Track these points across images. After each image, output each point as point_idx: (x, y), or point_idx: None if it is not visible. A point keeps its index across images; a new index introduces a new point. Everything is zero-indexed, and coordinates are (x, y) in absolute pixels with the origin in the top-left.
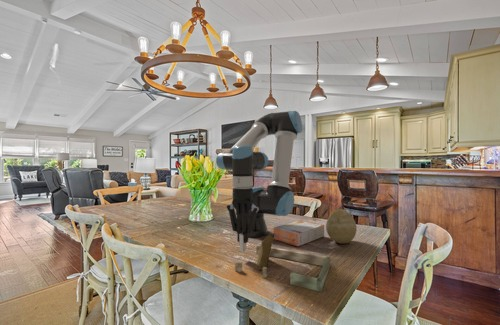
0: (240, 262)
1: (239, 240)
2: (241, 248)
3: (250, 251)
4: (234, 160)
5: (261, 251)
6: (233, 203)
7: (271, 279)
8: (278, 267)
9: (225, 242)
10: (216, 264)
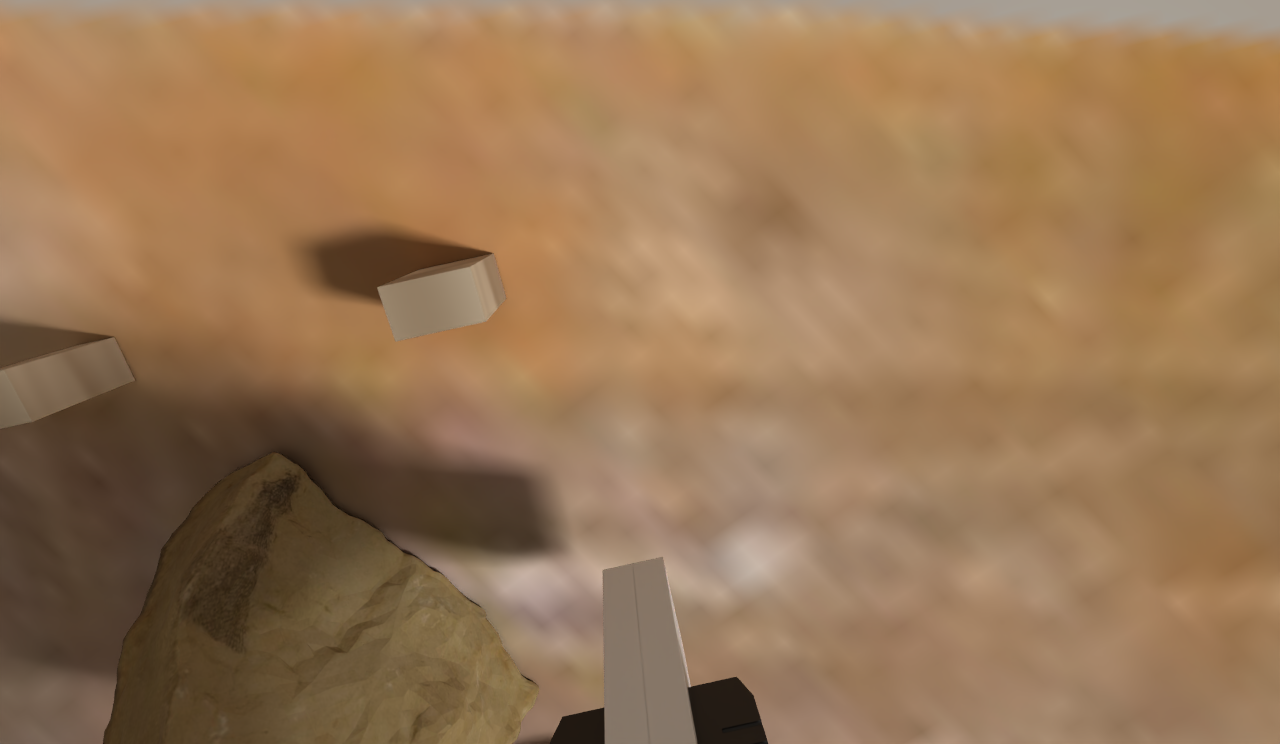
0: (397, 310)
1: (685, 695)
2: (629, 599)
3: None
4: None
5: (282, 694)
6: None
7: None
8: None
9: (1132, 740)
10: (823, 239)
